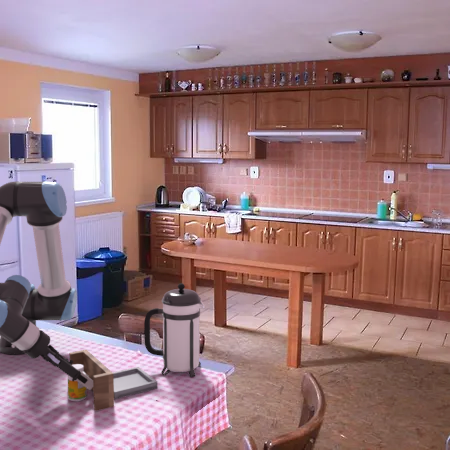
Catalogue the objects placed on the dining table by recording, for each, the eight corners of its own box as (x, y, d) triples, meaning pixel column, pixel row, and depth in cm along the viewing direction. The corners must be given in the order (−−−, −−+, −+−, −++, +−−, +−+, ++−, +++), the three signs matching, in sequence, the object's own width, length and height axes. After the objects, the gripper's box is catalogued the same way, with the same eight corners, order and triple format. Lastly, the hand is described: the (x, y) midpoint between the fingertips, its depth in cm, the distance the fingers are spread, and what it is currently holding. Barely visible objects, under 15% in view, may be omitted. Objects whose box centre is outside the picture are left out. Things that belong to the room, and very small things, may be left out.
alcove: (70, 383, 177) (69, 352, 175) (87, 379, 180) (86, 349, 178) (95, 411, 158) (94, 377, 157) (114, 406, 161) (113, 373, 160)
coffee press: (188, 357, 199) (188, 275, 195) (211, 373, 185) (212, 285, 181) (143, 367, 190) (142, 281, 185) (164, 384, 176) (164, 292, 172)
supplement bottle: (64, 397, 167) (63, 366, 165) (80, 392, 170) (79, 361, 169) (74, 403, 163) (73, 371, 162) (90, 397, 167) (89, 366, 165)
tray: (97, 382, 177) (97, 375, 177) (138, 373, 185) (138, 366, 185) (114, 399, 166) (114, 392, 166) (157, 388, 173) (157, 381, 173)
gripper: (13, 341, 163) (70, 382, 175) (30, 361, 148) (91, 405, 159) (31, 320, 166) (86, 362, 177) (49, 338, 150) (108, 383, 162)
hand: (89, 382), depth 168 cm, fingers closed on supplement bottle, 5 cm apart
